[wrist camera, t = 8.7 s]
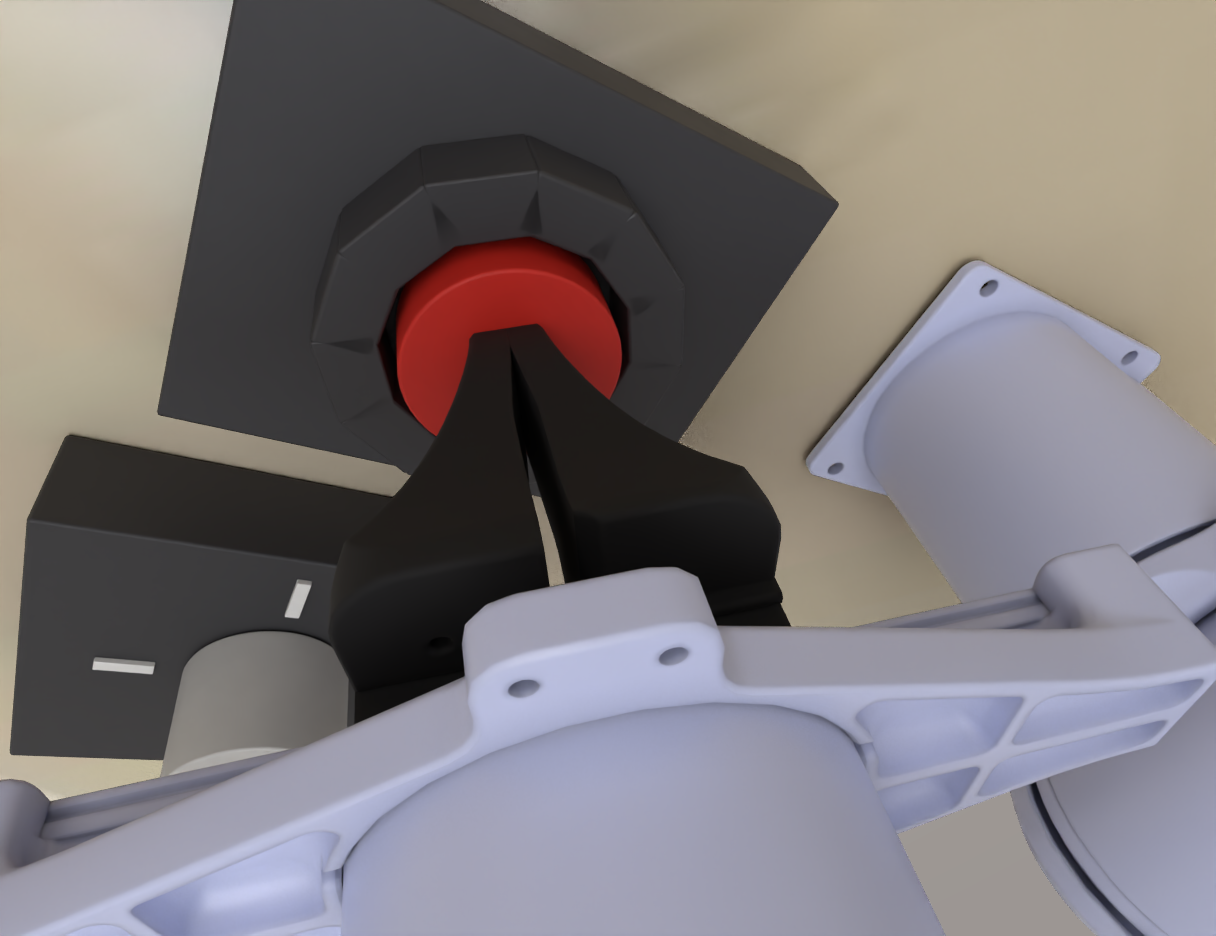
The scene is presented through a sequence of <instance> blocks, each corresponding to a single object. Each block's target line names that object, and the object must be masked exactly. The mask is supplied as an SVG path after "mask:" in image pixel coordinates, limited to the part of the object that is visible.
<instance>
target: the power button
mask: <svg viewBox="0 0 1216 936" xmlns="http://www.w3.org/2000/svg"><path fill="white" fill-rule="evenodd" d="M536 323H537V324H538V325H540V326H541V327H543V329H544V330H545V332H546V333H547V335H548V336H549V338H550V339H551V340H552V342H553V343H554V344H555V345H556V347H557V348H558V349H559V350H560V352H561V353H562V354H563V355H564V356H565V357H566V359H567V360H568V361H569V362H570V363H571V364H572V365H573V366H574V367H575V368H576V369H577V370H578V371H579V372H580V373H581V374H582V375H583V376H584V377H585V378H586V379H587V380H588V381H589V382H590V383H591V384H592V385H593V386H594V387H595V388H596V389H597V390H598V391H600V392H601V393H602V394H603V395H604V396H605V397H606V398H608V399H610V397H611V395H612V393H613V391H614V389H615V387H616V384H617V381H618V378H619V374H620V369H621V363H622V349H621V340H620V337H619V333H618V329H617V327H616V324H615V322H614V320H613V317H612V315H611V312H610V310H609V307H608V305H607V303H606V300H605V298H604V295H603V293H602V291H601V288H600V286H599V284H598V282H597V279H596V277H595V276H594V274H593V273H592V271H591V269H590V268H589V267H588V265H587V264H586V263H585V262H584V261H583V260H582V259H581V257H579V256H578V255H577V254H575V253H572V252H570V251H567V250H564V249H562V248H559V247H556V246H554V245H551V244H549V243H546V242H543V241H541V240H538V239H535V238H533V237H530V236H529V237H522V238H515V239H508V240H501V241H493V242H486V243H479V244H472V245H465V246H457V247H454V248H453V249H451V250H450V251H449V252H447V253H446V254H445V255H443V256H442V257H441V258H439V259H438V260H437V261H435V262H434V263H433V264H431V265H430V266H429V267H427V268H426V269H425V270H423V271H422V272H421V273H419V274H418V275H417V276H415V277H414V278H413V279H411V280H410V281H409V282H407V283H406V284H405V286H404V288H403V290H402V293H401V295H400V299H399V302H398V306H397V313H396V346H397V376H398V381H399V386H400V390H401V393H402V395H403V398H404V400H405V402H406V404H407V406H408V407H409V409H410V411H411V412H412V413H413V415H414V416H415V417H416V419H417V420H418V421H419V422H420V423H421V424H422V425H423V426H424V427H425V428H426V429H427V430H428V431H430V432H431V433H432V434H434V435H435V436H437V435H438V433H439V431H440V429H441V427H442V425H443V423H444V421H445V418H446V416H447V414H448V412H449V409H450V407H451V405H452V403H453V400H454V398H455V395H456V392H457V389H458V386H459V383H460V380H461V377H462V375H463V371H464V367H465V364H466V359H467V355H468V348H469V339H470V337H471V336H472V335H473V334H474V333H478V332H485V331H491V330H498V329H504V328H511V327H517V326H523V325H530V324H536Z"/></svg>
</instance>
